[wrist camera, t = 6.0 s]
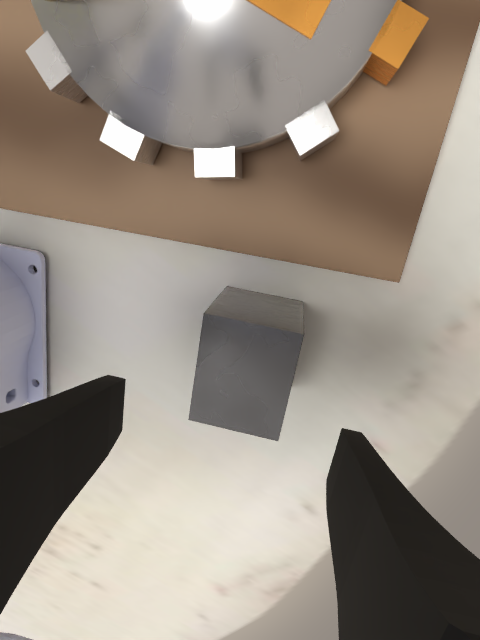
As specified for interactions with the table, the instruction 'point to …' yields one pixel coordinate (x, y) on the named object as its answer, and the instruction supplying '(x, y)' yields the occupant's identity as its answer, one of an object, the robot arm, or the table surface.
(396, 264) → the base board
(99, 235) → the table surface
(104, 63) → the wheel
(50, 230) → the table surface
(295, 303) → the link block
